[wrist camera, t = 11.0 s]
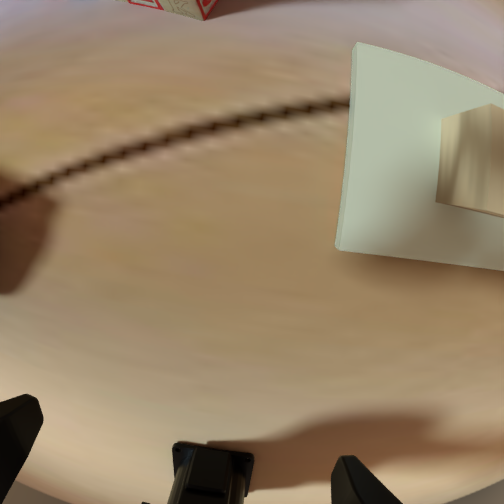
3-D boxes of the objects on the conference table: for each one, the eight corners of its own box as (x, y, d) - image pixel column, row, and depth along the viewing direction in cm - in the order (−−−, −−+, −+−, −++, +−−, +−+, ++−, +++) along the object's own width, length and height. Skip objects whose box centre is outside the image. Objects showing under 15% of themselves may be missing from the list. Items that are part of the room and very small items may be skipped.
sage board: (522, 270, 18) (531, 274, 16) (334, 246, 18) (339, 250, 17) (535, 119, 15) (545, 117, 14) (352, 49, 15) (357, 41, 14)
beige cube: (494, 216, 16) (546, 227, 11) (435, 202, 16) (486, 210, 11) (500, 140, 15) (551, 135, 10) (441, 119, 15) (491, 103, 10)
